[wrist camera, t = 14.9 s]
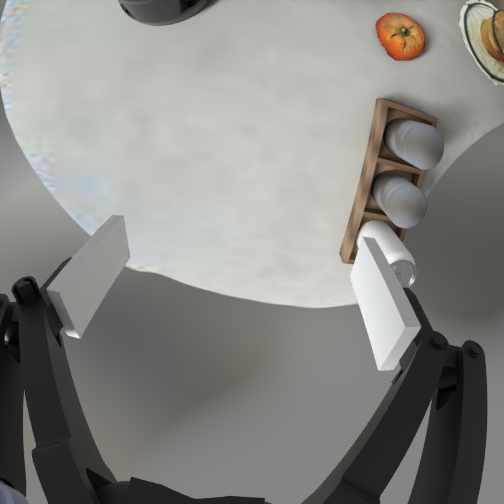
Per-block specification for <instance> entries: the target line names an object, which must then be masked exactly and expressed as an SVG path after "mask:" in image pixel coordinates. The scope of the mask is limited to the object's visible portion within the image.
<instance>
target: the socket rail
mask: <svg viewBox="0 0 504 504" xmlns="http://www.w3.org/2000/svg"><path fill="white" fill-rule="evenodd" d="M436 123H437V119H435V118H433V117H431V116H428V115H426V114H423V113H421V112H418V111H415V110H413V109H410V108H407V107H405V106H402V105H399V104H396V103H393V102H390V101H387V100H383V99H376V105H375V111H374V116H373V121H372V127H371V132H370V136H369V141H368V146H367V151H366V155H365V160H364V164H363V168H362V172H361V177H360V181H359V185H358V189H357V193H356V197H355V200H354V204H353V208H352V212H351V215H350V219H349V222H348V226H347V229H346V233H345V236H344V240H343V243H342V246H341V250H340V253H339V254H340V256H341V259H342V262H343V263H347V264H354V262H355V259H356V256H357V253H358V249H359V248H358V246H357V243H356V236H357V233H358V231H359V229H360V228H361V226H362V225H364V224H365V223H366V222H369V221H371V220H382V221H384V222H386V223H387V224H388V225H389V226H390V228H391V229H392V230H393V232H394V233H395V234H396V235H397V237H398V238H399V239H400V241H401V242H402V241H403V238H404V235H405V233H406V230H407V228H410V227H413V226H415V225H416V224H418V223H419V222H420V221H421V220H422V219H423V217H424V215H425V213H426V210H427V200H426V197H425V195H424V193H423V192H422V191H421V190H420V187H421V184H422V181H423V177H424V173H425V170H428V169H431V168H433V167H435V166H436V165H437V164H438V163H439V162H440V160H441V158H442V156H443V152H444V143H443V139H442V137H441V135H440V133H439V132H438V130H437V129H435V128H436Z"/></svg>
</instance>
